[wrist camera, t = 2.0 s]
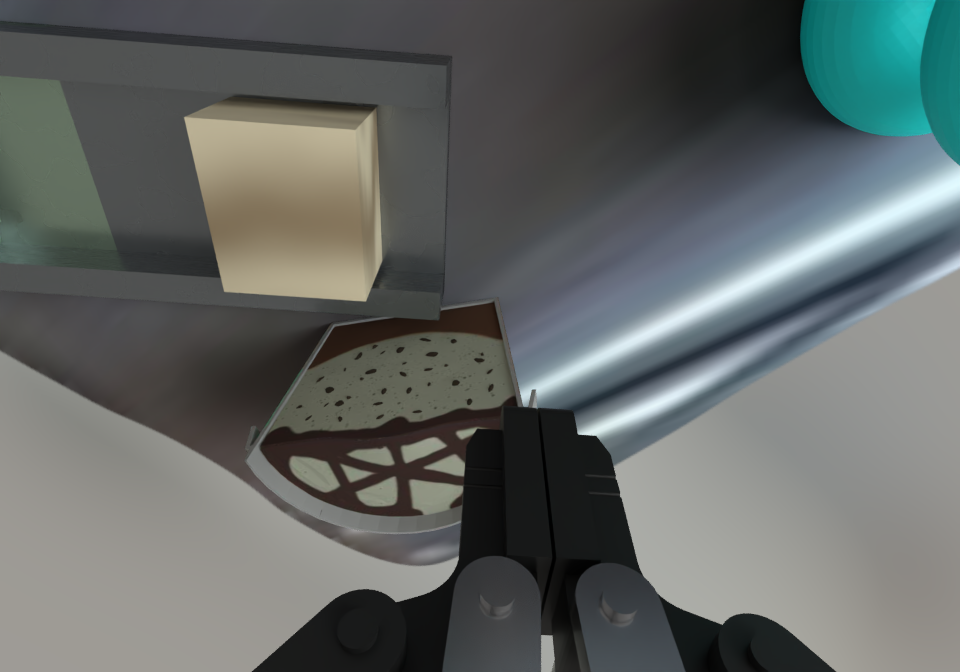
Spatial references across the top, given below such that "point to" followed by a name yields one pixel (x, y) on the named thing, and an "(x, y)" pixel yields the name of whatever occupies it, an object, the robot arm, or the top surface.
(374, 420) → the food container
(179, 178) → the chute
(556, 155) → the top surface
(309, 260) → the beech block
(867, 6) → the donuts
